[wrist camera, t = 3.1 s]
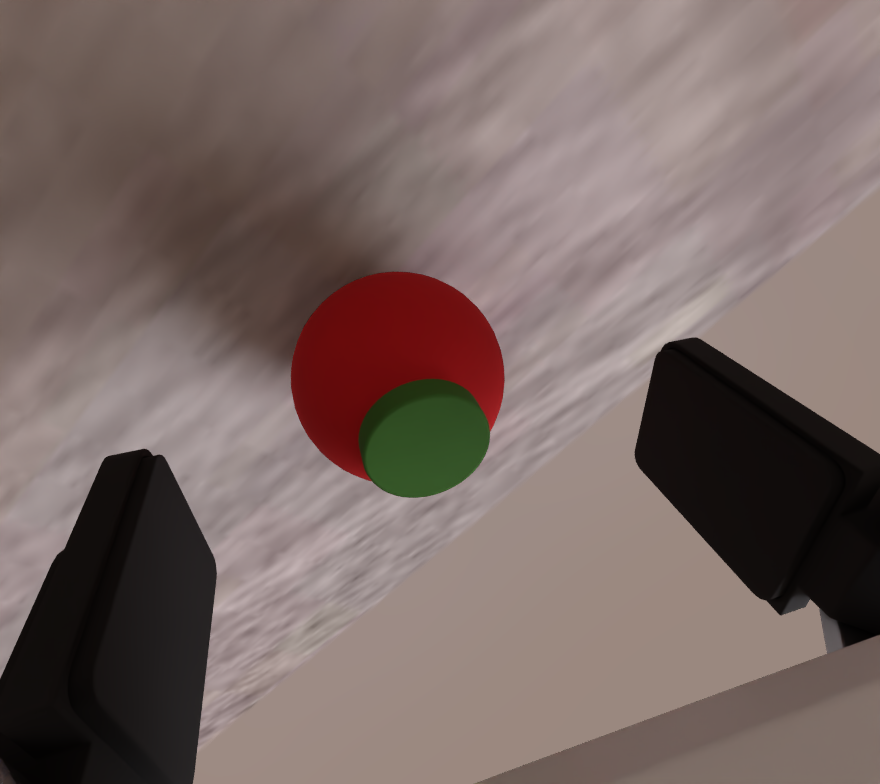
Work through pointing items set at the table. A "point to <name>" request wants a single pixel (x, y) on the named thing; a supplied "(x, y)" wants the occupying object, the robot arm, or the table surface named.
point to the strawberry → (399, 382)
